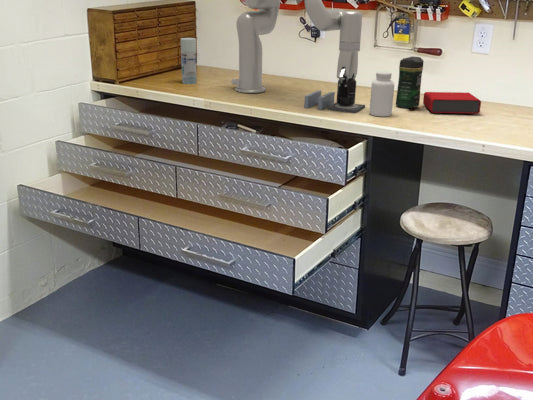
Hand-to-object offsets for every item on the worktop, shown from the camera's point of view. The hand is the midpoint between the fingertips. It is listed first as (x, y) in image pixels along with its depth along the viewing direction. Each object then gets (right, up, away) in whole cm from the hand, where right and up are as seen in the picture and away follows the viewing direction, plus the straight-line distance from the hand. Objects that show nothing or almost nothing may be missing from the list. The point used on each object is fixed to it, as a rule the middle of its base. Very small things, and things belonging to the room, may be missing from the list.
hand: (346, 95), depth 235 cm
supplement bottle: (0, -3, +1) cm, 3 cm away
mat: (0, -5, +2) cm, 5 cm away
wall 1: (-12, -3, +7) cm, 14 cm away
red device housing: (+40, -4, +6) cm, 41 cm away
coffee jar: (+24, -3, +7) cm, 25 cm away
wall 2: (-7, -3, +5) cm, 9 cm away
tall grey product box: (-63, +11, +42) cm, 77 cm away
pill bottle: (+11, -8, -7) cm, 16 cm away
